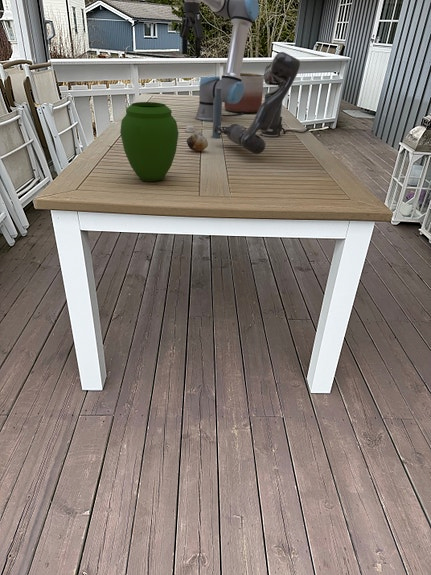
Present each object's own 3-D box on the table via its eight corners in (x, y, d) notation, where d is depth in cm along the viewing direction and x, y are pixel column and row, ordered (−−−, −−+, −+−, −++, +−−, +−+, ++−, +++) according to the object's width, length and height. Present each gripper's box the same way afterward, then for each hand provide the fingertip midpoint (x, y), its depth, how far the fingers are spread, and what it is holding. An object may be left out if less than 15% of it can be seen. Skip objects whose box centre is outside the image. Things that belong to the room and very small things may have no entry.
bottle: (212, 137, 207) (214, 88, 195) (212, 136, 210) (214, 87, 198) (220, 138, 207) (222, 88, 195) (220, 136, 210) (222, 87, 198)
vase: (131, 189, 135) (125, 110, 122) (118, 172, 150) (112, 100, 137) (186, 184, 142) (187, 109, 129) (169, 168, 157) (167, 99, 144)
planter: (265, 114, 273) (268, 77, 261) (227, 113, 269) (230, 75, 257) (255, 107, 294) (258, 73, 282) (221, 107, 290) (222, 72, 278)
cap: (193, 132, 216) (193, 127, 215) (186, 132, 215) (186, 127, 214) (193, 130, 219) (193, 126, 218) (186, 130, 219) (186, 125, 217)
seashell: (207, 149, 185) (207, 131, 181) (208, 152, 180) (209, 134, 176) (186, 149, 184) (186, 130, 179) (187, 152, 179) (187, 133, 175)
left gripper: (172, 2, 194) (173, 53, 206) (197, 0, 176) (196, 56, 188) (186, 3, 198) (186, 53, 209) (212, 2, 180) (210, 57, 191)
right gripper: (253, 125, 184) (239, 118, 196) (223, 126, 179) (211, 119, 192) (251, 142, 188) (238, 134, 200) (222, 143, 183) (210, 135, 196)
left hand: (191, 55), depth 198 cm, fingers open, 13 cm apart
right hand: (224, 127), depth 196 cm, fingers open, 8 cm apart
